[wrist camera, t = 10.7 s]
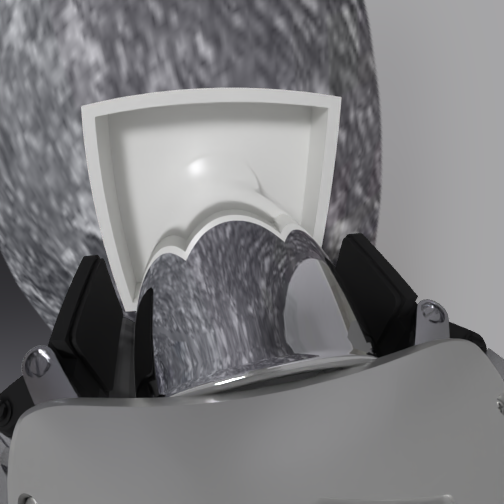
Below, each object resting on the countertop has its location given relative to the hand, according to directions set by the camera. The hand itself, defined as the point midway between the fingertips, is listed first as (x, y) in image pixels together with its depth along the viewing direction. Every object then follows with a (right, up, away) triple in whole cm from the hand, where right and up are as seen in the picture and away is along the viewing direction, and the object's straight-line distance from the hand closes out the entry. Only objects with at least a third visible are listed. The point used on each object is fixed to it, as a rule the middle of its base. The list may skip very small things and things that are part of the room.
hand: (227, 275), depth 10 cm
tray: (-2, +5, +8) cm, 10 cm away
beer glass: (-2, +5, +8) cm, 9 cm away
